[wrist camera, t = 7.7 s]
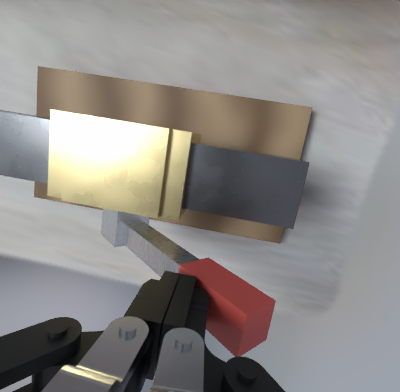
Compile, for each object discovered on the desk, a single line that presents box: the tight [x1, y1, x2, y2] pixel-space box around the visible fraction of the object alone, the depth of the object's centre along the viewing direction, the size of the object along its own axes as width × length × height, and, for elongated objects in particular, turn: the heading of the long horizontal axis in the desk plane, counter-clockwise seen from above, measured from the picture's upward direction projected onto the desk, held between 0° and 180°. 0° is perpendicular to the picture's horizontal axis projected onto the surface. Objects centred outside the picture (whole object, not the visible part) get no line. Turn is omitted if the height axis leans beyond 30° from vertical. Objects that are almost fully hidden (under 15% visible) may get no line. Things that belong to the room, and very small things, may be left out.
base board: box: [34, 66, 312, 243], centre depth 27 cm, size 26×13×2 cm, turn 81°
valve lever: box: [101, 208, 276, 357], centre depth 15 cm, size 2×3×13 cm
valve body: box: [0, 110, 309, 229], centre depth 21 cm, size 22×5×11 cm, turn 81°
